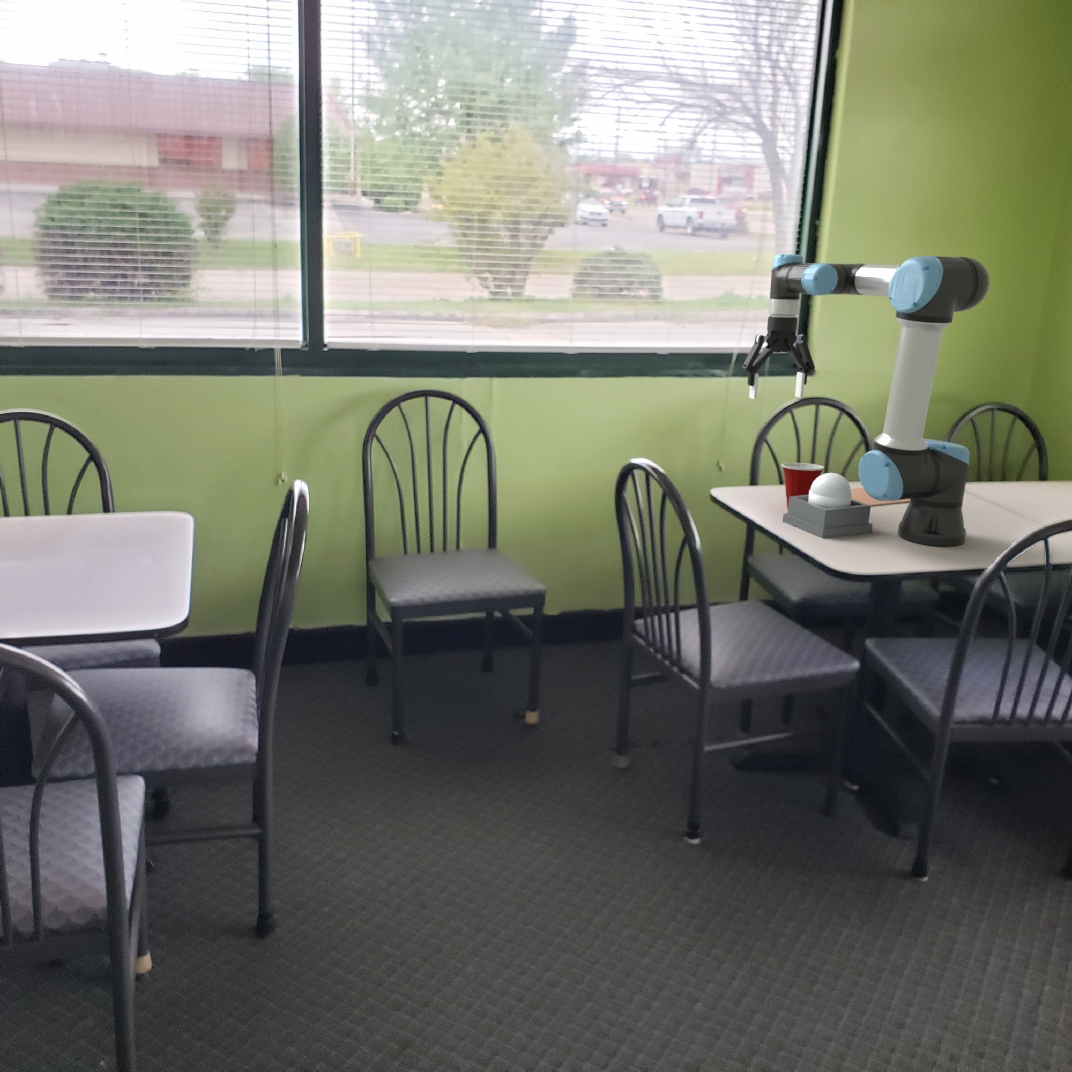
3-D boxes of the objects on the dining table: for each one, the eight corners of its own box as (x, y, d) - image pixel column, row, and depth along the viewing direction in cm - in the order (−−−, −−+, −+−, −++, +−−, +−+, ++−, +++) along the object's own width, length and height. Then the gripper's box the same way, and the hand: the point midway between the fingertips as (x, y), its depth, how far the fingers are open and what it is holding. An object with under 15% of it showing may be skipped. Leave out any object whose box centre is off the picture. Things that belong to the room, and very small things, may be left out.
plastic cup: (816, 504, 271) (821, 460, 268) (823, 515, 261) (828, 469, 257) (774, 502, 272) (778, 458, 269) (779, 513, 262) (784, 467, 258)
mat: (915, 501, 277) (915, 500, 277) (869, 506, 271) (869, 505, 271) (874, 487, 291) (874, 486, 291) (829, 492, 285) (829, 490, 285)
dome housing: (871, 531, 247) (874, 506, 245) (822, 537, 241) (825, 511, 239) (830, 516, 260) (833, 491, 258) (782, 521, 254) (785, 496, 252)
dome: (858, 515, 247) (863, 476, 245) (825, 518, 243) (829, 479, 241) (831, 505, 256) (835, 467, 253) (798, 508, 252) (802, 470, 249)
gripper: (817, 314, 272) (810, 394, 278) (732, 314, 265) (726, 396, 271) (833, 317, 265) (825, 398, 271) (746, 316, 258) (740, 400, 264)
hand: (775, 397), depth 271 cm, fingers open, 13 cm apart
